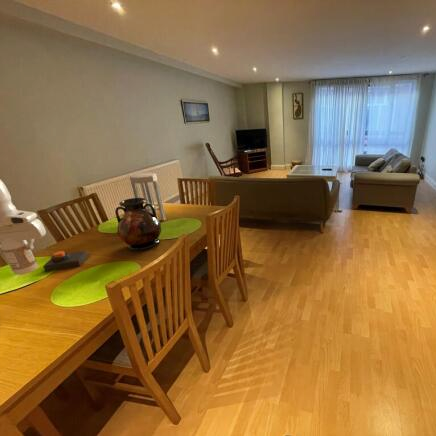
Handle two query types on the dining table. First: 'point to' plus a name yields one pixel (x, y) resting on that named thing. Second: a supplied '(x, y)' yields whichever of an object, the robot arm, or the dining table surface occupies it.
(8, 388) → the dining table surface
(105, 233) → the dining table surface
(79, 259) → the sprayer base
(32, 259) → the bath foam
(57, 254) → the button
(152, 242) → the amphora vase
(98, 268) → the dining table surface
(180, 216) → the dining table surface
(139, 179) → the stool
